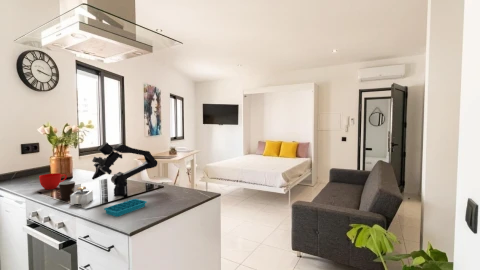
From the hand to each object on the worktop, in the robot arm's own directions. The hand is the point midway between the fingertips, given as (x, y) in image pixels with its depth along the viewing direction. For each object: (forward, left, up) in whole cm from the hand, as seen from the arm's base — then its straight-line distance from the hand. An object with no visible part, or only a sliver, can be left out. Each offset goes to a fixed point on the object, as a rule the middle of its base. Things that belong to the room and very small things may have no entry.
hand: (92, 179), depth 153 cm
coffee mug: (+17, -10, -14) cm, 24 cm away
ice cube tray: (-24, +23, -14) cm, 36 cm away
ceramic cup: (+39, -39, -14) cm, 57 cm away
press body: (+5, +5, -13) cm, 15 cm away
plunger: (+5, +3, -12) cm, 14 cm away
